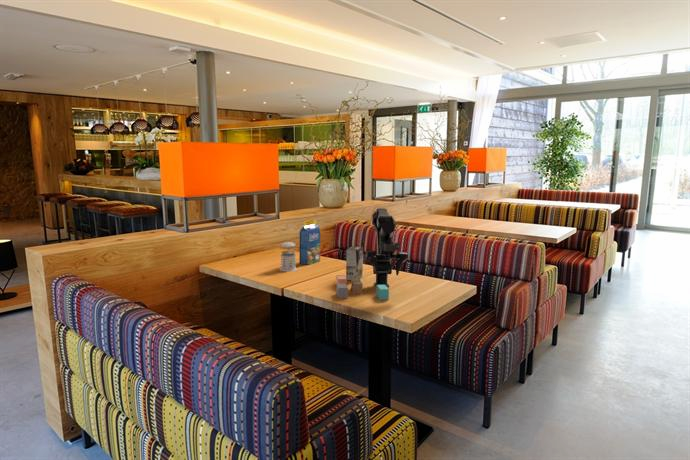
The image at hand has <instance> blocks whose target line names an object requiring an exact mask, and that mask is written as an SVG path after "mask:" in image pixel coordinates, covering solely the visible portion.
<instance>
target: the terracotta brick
mask: <svg viewBox="0 0 690 460" xmlns="http://www.w3.org/2000/svg"><path fill="white" fill-rule="evenodd" d="M335 277H336V278H335V279H336V281H335V282H336V285H337V284H340V283H345V284H346V286H347V287H348V285H347V284H348V280H347V278H346V274H337V275H336V276H335ZM336 285H335V286H336Z"/></svg>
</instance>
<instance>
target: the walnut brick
mask: <svg viewBox="0 0 690 460" xmlns="http://www.w3.org/2000/svg"><path fill="white" fill-rule="evenodd" d="M350 285H351V286H350V287H351V288H350V290H351V292H352V294H353V295H355V294H356V295H357V294H358V295H359V294H363V282H362V281H361V278H360V279H351V280H350Z"/></svg>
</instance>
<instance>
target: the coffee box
mask: <svg viewBox="0 0 690 460" xmlns="http://www.w3.org/2000/svg"><path fill="white" fill-rule="evenodd" d="M345 260H346V261H345V262H346V263H345V265H346V267H345V268H346V269H345V277H346V278H347V281H351V279H360V280H361V278H363V274H364V273H363V271H364V267H363V266H364V247H363V246H353V245H352V246H350V247H348V248H346V259H345Z"/></svg>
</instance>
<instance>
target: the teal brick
mask: <svg viewBox="0 0 690 460" xmlns="http://www.w3.org/2000/svg"><path fill="white" fill-rule="evenodd" d="M376 297H377V298H378V300H379V301H389V299H390V288H389V287H387V286H386V285H377V287H376Z"/></svg>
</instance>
